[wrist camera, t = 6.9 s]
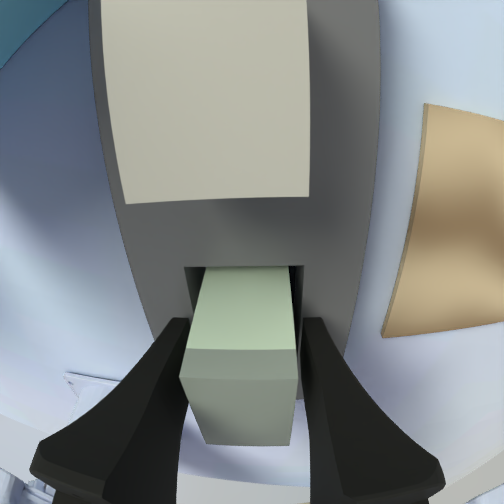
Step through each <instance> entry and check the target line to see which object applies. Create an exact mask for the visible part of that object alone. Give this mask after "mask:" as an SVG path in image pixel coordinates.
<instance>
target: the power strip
mask: <svg viewBox="0 0 504 504" xmlns="http://www.w3.org/2000/svg"><path fill="white" fill-rule="evenodd" d="M306 2H307V20H308V42H309V74H310V172H309V197H255V198H223V199H200V200H181V201H164V202H149V203H135V204H126V202H125V198H124V193H123V188H122V183H121V178H120V173H119V168H118V162H117V157H116V151H115V145H114V139H113V132H112V126H111V119H110V112H109V104H108V96H107V87H106V78H105V67H104V55H103V40H102V20H101V0H88V11H89V38H90V54H91V67H92V77H93V87H94V95H95V103H96V111H97V118H98V125H99V131H100V137H101V143H102V149H103V155H104V160H105V165H106V170H107V175H108V180H109V185H110V190H111V194H112V199H113V203H114V207H115V211H116V216H117V220H118V224H119V228H120V232H121V235H122V239H123V243H124V247H125V250H126V254H127V257H128V261H129V264H130V268H131V271H132V274H133V278H134V281H135V284H136V288H137V291H138V294H139V297H140V300H141V303H142V306H143V309H144V312H145V315H146V318H147V321H148V324H149V326H150V329H151V332H152V335H153V338H154V340H156V339H157V337H158V336H159V335H160V333H161V332H162V330H163V329H164V328H165V326H166V325H167V324H168V322H169V321H170V319H171V318H173V317H181V318H189V322H190V326H191V325H192V321H193V317H194V313H195V309H196V305H197V301H198V297H199V293H200V290H201V286H202V282H203V278H204V274H205V271H206V267H222V266H291V265H296V270H295V292H294V312H293V320H294V332H295V344H296V356H297V369H298V385H297V393H296V399H304V396H303V389H302V383H301V370H300V347H301V336H302V325H303V318H306V317H321V318H322V319H323V321H324V323H325V326H326V328H327V330H328V332H329V334H330V336H331V338H332V340H333V341H334V343H335V345H336V347H337V349H338V350H339V352H340V354H341V355H342V357H343V356H344V352H345V348H346V344H347V339H348V335H349V331H350V327H351V322H352V318H353V313H354V308H355V304H356V299H357V294H358V289H359V283H360V278H361V273H362V267H363V261H364V255H365V249H366V243H367V237H368V230H369V223H370V215H371V208H372V199H373V191H374V182H375V172H376V160H377V148H378V133H379V115H380V78H381V59H380V24H379V7H378V0H306Z"/></svg>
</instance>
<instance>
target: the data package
mask: <svg viewBox="0 0 504 504" xmlns="http://www.w3.org/2000/svg"><path fill="white" fill-rule="evenodd" d="M67 1H68V0H0V69H1V68H2V67H3V66H4V64H5V63H6V62H7V61H8V60H9V58H10V57H11V56H12V55H13V54H14V53H15V52H16V50H17V49H18V48H19V47H20V46H21V45H22V44H23V43H24V42H25V41H26V40H27V39H28V38H29V36H30V35H31V34H32V33H33V32H34V31H35V30H36V29H37V28H38V27H39V26H40V25H41V24H42V23H43V22H45V21H46V20H47V19H48V18H49V17H50V16H51V15H52V14H53V13H54V12H55V11H56V10H58V9H59V8H60V7H61V6H62V5H63V4H64V3H66V2H67Z"/></svg>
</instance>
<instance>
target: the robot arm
mask: <svg viewBox="0 0 504 504" xmlns="http://www.w3.org/2000/svg"><path fill="white" fill-rule="evenodd" d="M190 329H191V326H190V322H189V318H181V317H173V318H171V319H170V321H169V322H168V324H167V325H166V326H165V328H164V329H163V330H162V332H161V333H160V335H159V336H158V337H157V339H156V340H155V341H154V343H153V344H152V345H151V347H150V348H149V349H148V350H147V352H146V353H145V354H144V355H143V357H142V358H141V359H140V360H139V362H138V363H137V364H136V365H135V366H134V367H133V368H132V370H131V371H130V372H129V373H128V374H127V375H126V376H125V378H124V379H123V380H122V381H121V382H119V381H112V380H106V379H100V378H94V377H89V376H83V375H78V374H73V373H68V372H65V373H64V375H63V378H64V380H65V381H66V382H67V384H68V385H69V386H70V388H71V389H72V390H73V392H74V393H75V394H76V396H77V397H78V400H77V402H76V405H75V407H74V410H73V412H72V415H71V417H70V420H69V422H68V425H67V426H66V427H65V428H63V429H62V430H60V431H58V432H56V433H54V434H53V435H51V436H49V437H47V438H46V439H44V440H42V441H40V442H39V444H38V447H37V449H36V452H35V455H34V457H33V460H32V463H31V466H30V469H29V470H30V473H31V474H32V475H34V476H35V477H36V478H38V479H36V480H35V481H34V480H33V481H29V482H28V484H26V483H24V482H23V481H22V480H20V479H19V478H17V477H16V476H14V475H12V474H11V473H9V472H7V471H5V470H4V469H2V468H0V504H176V491H177V473H178V461H179V451H180V443H182V438H181V435H182V429H183V424H184V420H185V416H186V412H187V408H188V404H189V401H188V399H187V396H186V394H185V391H184V388H183V386H182V383H181V381H180V378H179V375H180V371H181V367H182V362H183V358H184V354H185V350H186V346H187V341H188V337H189V333H190ZM300 370H301V383H302V389H303V396H304V402H305V409H306V416H307V422H308V429H309V439H310V504H429V501H428V498H429V497H431V496H433V495H434V494H436V493H437V492H439V491H440V490H442V489H443V488H444V486H445V485H446V482H445V478H444V474H443V471H442V468H441V466H440V463H439V461H438V459H437V458H436V457H434V456H433V455H431V454H430V453H429V452H427V451H426V450H425V449H423V448H422V447H421V446H419V445H418V444H417V443H416V442H415V441H413V440H412V439H411V438H410V437H409V436H408V435H406V434H405V433H404V432H403V431H402V430H401V429H400V428H399V427H398V426H397V425H396V424H395V423H394V422H393V421H392V420H391V419H390V418H389V417H388V416H387V415H386V414H385V413H384V412H383V411H382V410H381V409H380V407H379V406H378V405H377V404H376V403H375V402H374V401H373V399H372V398H371V397H370V396H369V395H368V393H367V392H366V391H365V389H364V388H363V387H362V385H361V384H360V383H359V381H358V380H357V378H356V377H355V376H354V374H353V373H352V371H351V370H350V368H349V367H348V365H347V364H346V362H345V360H344V359H343V357H342V355H341V354H340V352H339V350H338V349H337V347H336V345H335V343H334V341H333V340H332V338H331V336H330V334H329V332H328V330H327V328H326V326H325V323H324V321H323V319H322V318H321V317H306V318H303V325H302V336H301V347H300ZM464 504H504V483H503V484H501V485H499V486H497V487H495V488H493V489H491V490H489V491H487V492H485V493H483V494H481V495H479V496H477V497H475V498H473V499H471V500H469V501H468V502H467V503H464Z"/></svg>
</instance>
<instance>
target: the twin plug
mask: <svg viewBox="0 0 504 504" xmlns="http://www.w3.org/2000/svg"><path fill="white" fill-rule="evenodd" d="M101 20H102V40H103V55H104V67H105V78H106V87H107V96H108V104H109V112H110V119H111V126H112V132H113V139H114V145H115V151H116V157H117V162H118V168H119V173H120V178H121V183H122V188H123V193H124V198H125V202H126V204H135V203H149V202H164V201H181V200H200V199H223V198H255V197H309V172H310V74H309V42H308V20H307V2H306V0H101Z"/></svg>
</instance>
